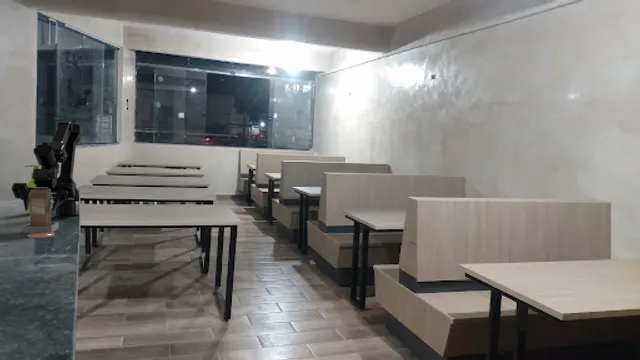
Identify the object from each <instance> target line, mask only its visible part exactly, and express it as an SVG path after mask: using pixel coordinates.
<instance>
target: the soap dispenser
mask: <svg viewBox="0 0 640 360" xmlns="http://www.w3.org/2000/svg"><path fill="white" fill-rule="evenodd" d="M23 167H24V168H33V169H39V168H41V165H39V164H36V165H35V164H29V165H24V166H23ZM30 174H31V178H30V179H31V180H29V181H28V182H27V186H28V187H36V185H34V179H33V178H32V176H33V172H31V173H30ZM29 196H30V193H29ZM28 214H29V215H30V204H29V208H28Z"/></svg>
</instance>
